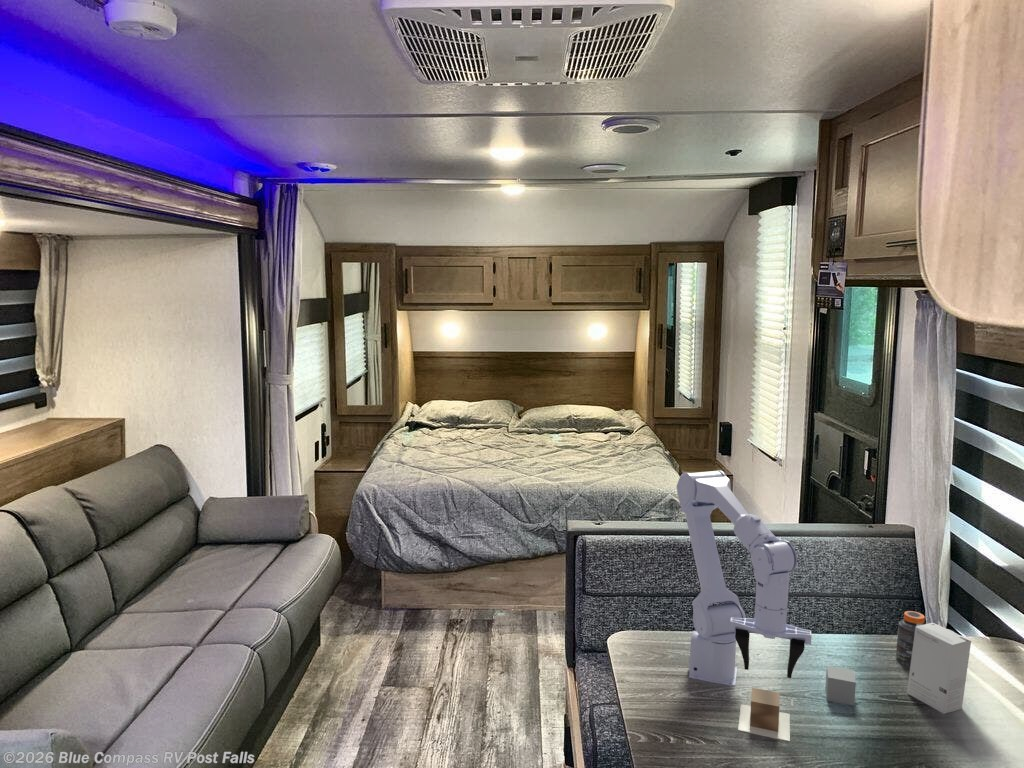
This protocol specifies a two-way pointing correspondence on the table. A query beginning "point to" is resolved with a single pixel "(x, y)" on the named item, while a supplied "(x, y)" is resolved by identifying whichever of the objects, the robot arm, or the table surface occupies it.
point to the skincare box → (938, 667)
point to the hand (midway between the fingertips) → (767, 671)
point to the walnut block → (764, 709)
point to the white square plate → (781, 734)
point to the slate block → (840, 685)
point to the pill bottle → (907, 636)
